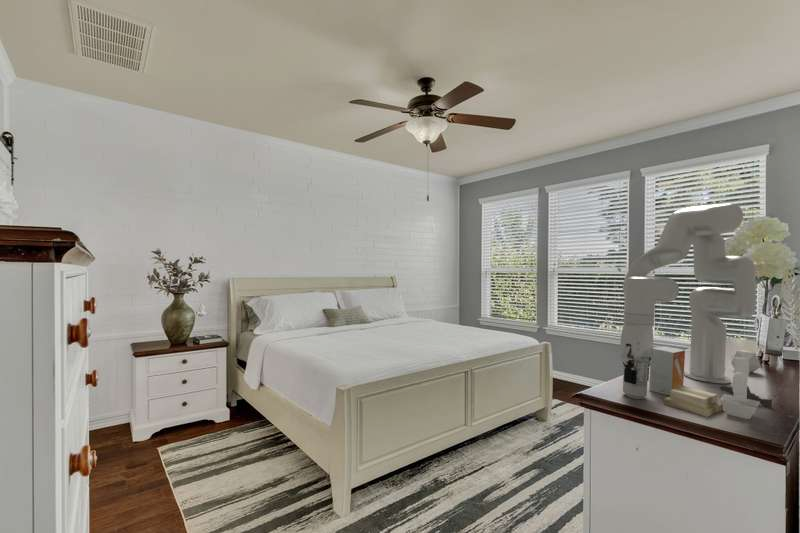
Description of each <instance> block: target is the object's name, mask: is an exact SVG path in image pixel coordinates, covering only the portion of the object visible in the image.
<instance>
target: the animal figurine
mask: <svg viewBox="0 0 800 533" xmlns="http://www.w3.org/2000/svg"><path fill="white" fill-rule="evenodd" d="M719 389H720V390H721V392H723V393H724V394H725V393H726V395H731V396H734V393H733V386H728V385H721V386H719ZM747 399H750V400H755V401H760V403H759V404H760V405H761V406H765V407H767V408H771V409H772V407H773V399H770V398H768V399H767V398H766V399H765V398H761V397H760V396H759V395H756V394H755V393H753V392H751V390H750V387H749V385H747Z"/></svg>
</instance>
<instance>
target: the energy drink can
mask: <svg viewBox="0 0 800 533" xmlns="http://www.w3.org/2000/svg"><path fill="white" fill-rule="evenodd" d="M648 356H649V352H648V351H645V352H644V353H643V355H642V358H641V360H637V365H636V369H635V370H637V381H636V384H631V383H627V382H625V381H624V373H623V374H622V375H623V381H622V393H624V395H625V397H628V398H631V399H635V400H645V398H646V397H647V395H648V381H647V379H648ZM629 358H633V359H634V357H633V356H629ZM629 361H630V360H629ZM631 363H632V364H633V361H631Z"/></svg>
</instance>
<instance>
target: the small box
mask: <svg viewBox="0 0 800 533" xmlns="http://www.w3.org/2000/svg"><path fill="white" fill-rule="evenodd" d="M685 358H686V350H685V349H680V348H676V347H671V346H670V347H669V346H664V345H663V346H657V347H653V354H652V356H651V360H650V367H649V384H648V385H649V386H648V387H649V388H648V390H649V391H652V392H655V393H659V394H662V395H666V396H668V397H670V390H672V389H675V388H678V387H682V386H684V378H685V375H684V371H685V360H686V359H685Z"/></svg>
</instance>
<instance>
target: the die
mask: <svg viewBox="0 0 800 533" xmlns="http://www.w3.org/2000/svg"><path fill="white" fill-rule="evenodd" d="M734 357H744V358H749V374H750V373H751V374H752V373H754V372H756V371H757V370H759V369H760V368H761V364H760V359H759V357H758V356H757V354H756V352H752V351H749V350H746V349H742V350H741V349H740V350H737V351H735V352H734V353H732V354H731V355H729V358H730V363H731V365H732V367H733V368H734V370H735V364H734Z"/></svg>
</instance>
